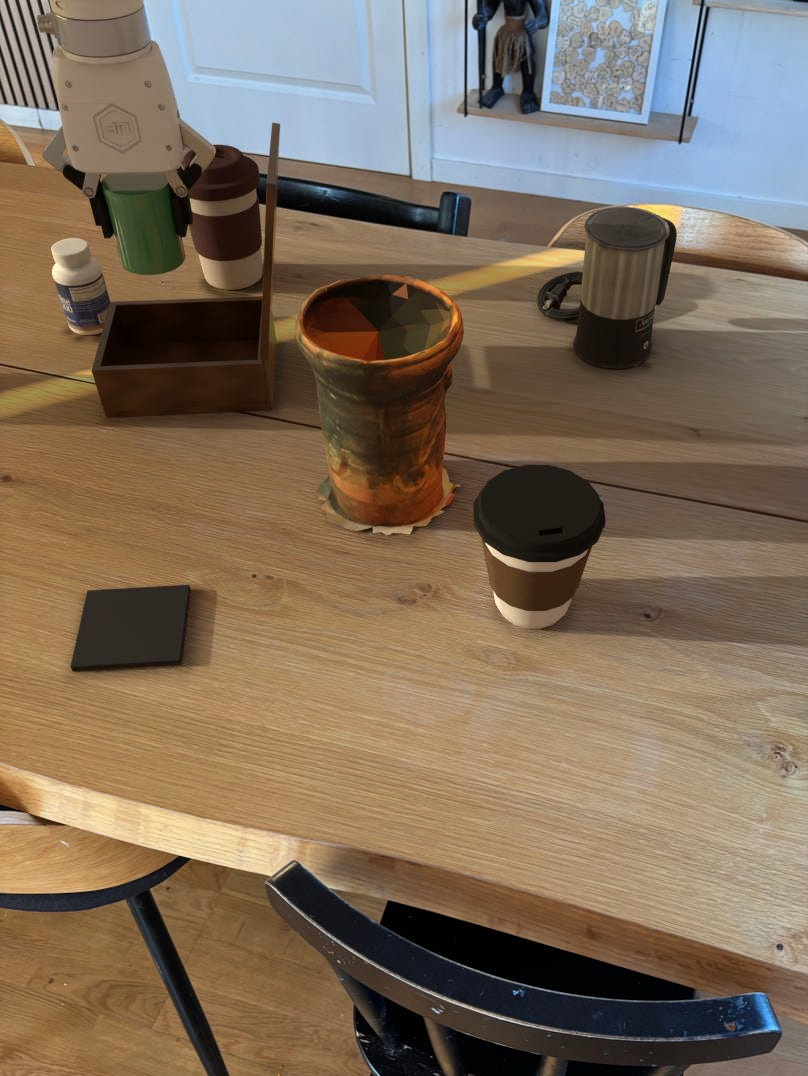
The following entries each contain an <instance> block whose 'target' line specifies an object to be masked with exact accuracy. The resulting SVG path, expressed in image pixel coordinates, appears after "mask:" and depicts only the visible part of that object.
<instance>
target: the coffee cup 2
mask: <svg viewBox="0 0 808 1076" xmlns="http://www.w3.org/2000/svg"><path fill="white" fill-rule="evenodd" d="M472 504H473V505H472V506H473V507H472V510H473V515H472V516H473V517H472V518H473V527H474V529H475V530H476V532H477V534H478V535H479V536H480V538H481V543H482V549H483V555H484V560H485V565H486V566H485V567H486V571H487V575H488V582H489V586H490V588H491V589H492V592H493V597H494V603H495V605H496V607H497V609H498V610H499V612H500V613H501V616H503V618H504V619H505V620H507V621H508V622H510V623H511V624H513V625H514V626H517V627H520V628H524V629H526V630H527V629H528V630H529V629H530V630H531V629H533V630H534V629H535V630H539V629H543V628H546V627H550V626H553V625H554V624H555V623H557V622H558V621H559V620H561V619H562V618H563V617H564V616H565V615H566V614H567V611H568V610H569V607H570V605H571V603H572V599H573V598H574V596H575V594H576V592H577V591H578V588H579V586H580V583H581V580H582V578H583V574H584V572H585V569H586V566H587V563H588V560H589V557H590V554H591V551H592V549H593V546H594V545H596V544H597V543H598V542H599V540H600V538H601V536H602V533H603V531H604V529H605V527H606V523H607V519H606V512H605V504H604V501H603V500H602V499H601V497H600V495H599V493H598V492H597V490H596V489H595V488H594V486H593V485H592V484H591V483H590V481H589V480H588V479H585V478H584V477H582V476H580V475H578V474H577V473H575V472H573V471H572V470H570V469H568V468H567V469H566V468H562V467H559V466H556V465H551V464H523V465H519V466H515V467H512V468H507V469H504V470H502V471H501V472H499V473H498V474H496V475H494V476H493V477H491V478H489V479H488V480H487V481H486V483H485V485H483V487H482V488H481V489H480V491H479V492H478V495H476V498H475V499H474V501H473V503H472Z"/></svg>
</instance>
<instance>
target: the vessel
mask: <svg viewBox="0 0 808 1076" xmlns="http://www.w3.org/2000/svg"><path fill="white" fill-rule="evenodd" d="M462 315H463V314H462V311H461V309H460V307H459V305H458V304H457V303H456V302H455V300H453V298H452V297H450V296H449V295H448V293H446V292H444V290H442V289H440V288H438V287H437V286H434V285H432V284H429V283H428V282H426V281H423V280H421V279H420V278H415V277H414V276H409V275H393V274H384V275H380V276H374V277H360V278H349V279H339V280H337V281H334V282H332V283H329V284H326V285H323V286H320V287H319V288H316V289H315V290H314V291H313V292H312V293H311V294H310V295H309V296H308V297H307V298H306V299H305V301H303V303H301V306H300V308H299V311H298V314H297V315H296V318H295V322H294V335H295V336H294V337H295V339H296V344H297V346H298V349H299V351H300V352H301V354H302V355H303V356H304V358H305V359H306V361H307V362H308V363H307V364H309V366H310V367H311V369H312V372H313V375H314V378H315V384H316V385H315V386H316V395H317V400H318V414H319V420H320V421H319V422H320V428H321V435H322V443H323V448H324V453H325V456H326V461H327V467H328V476H327V477H326V478H325V479H324V480H322V482H321V483H320V484H319V485H318V488H317V489H316V492H317V495H318V496H317V500H318V501H324V503H323V504H322V505H321V506H320V510H322V511H324V512H325V517H326V522H327V523H329V524H332V525H336V526H339V527H341V528H343V529H344V528H345V529H346V530H351V531H356V532H359V531H363V530H368V529H370V528H372V533H373V534H376V533H382V534H384V535H385V536H389V535H392V534H402V535H403V534H405V535H411V533H412V532H413V528H414V527H427V526H428V525H429V524H430V522H431V521H432V519H433V518H434V517H438V516H440V515H442V514H443V513H445V511H444V510H442V509H443V508H445V507H447V506H448V505H450V504H451V503H452V501H453V500H454V497H455V496H456V494H454V493H453V491H454V489H456V488H457V487H461V484H455V483H452V482H450V477H449V473H448V471H447V469H446V468H444V467H443V460H444V458H445V453H446V436H447V435H446V434H447V412H446V403H445V401H446V394H447V391H448V389H449V388H450V387H451V385H452V383H453V380H454V375H453V369H452V368H453V367H452V364H451V362H452V361H453V360H454V359H455V358H456V356H457V355H458V354H459V351H460V350H461V346H462V343H463V340H464V335H465V334H464V333H465V327H464V320H463V316H462Z"/></svg>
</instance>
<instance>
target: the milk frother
mask: <svg viewBox="0 0 808 1076" xmlns="http://www.w3.org/2000/svg"><path fill="white" fill-rule="evenodd" d="M583 226H584V227H583V228H584V231H585V233H586V235H585V245H584V253H583V256H584V258H583V265H582V267H583V268H582V271H571V272H567V273H564V274H560V275H557V276H555V277H553V278H551V279H549V280H548V281H547V282H545V284H543V286H542V287H541V288H540V289H539V291H538V293H537V298H536V305H537V308H538V310H539V312H540V313H541V314H542V315H544V316H545V317H547V318H548V319H551V320H554V321H556V322H561V323H569V322H577V325H576V334H575V335H574V338H573V342H572V343H573V344H572V345H573V350H574V352H575V354H577V356H578V357H579V358H581V359H582V360H584V361H585V362H586V363H588V364H591V365H594V366H596V367H600V368H603V369H604V368H606V369H619V370H620V369H628V368H633V367H636V366H638V365H640V364H642V363H643V362H645V361H647V359H648V358H649V357H650V356H651V354H652V350H653V345H652V335H653V328H654V317H655V311H656V306H660V305H662V303H663V301H664V298H665V296H666V291H667V287H668V283H669V282H668V281H669V277H670V272H671V269H672V268H671V267H672V263H673V258H674V253H675V248H676V244H677V237H678V232H677V228H676V225H675V224H674V222H672V221H671V220H670V219H667V218H665V217H663V216H661V215H660V214H656V213H655V212H652V211H650V210H648V209H647V210H646V209H643V208H637V207H634V206H632V207H630V206H617V207H616V206H615V207H607V208H603V209H600V210H597V211H595V212H593V213H592V214H590V215H588V217H587V218H586V220H584V225H583ZM575 285H578V286H580V285H581V286H580V287H581V289H580V299H579V308H576V309H573V310H560V309H561V305H562V303H563V301H564V300H565V298H566V297H567V296H568V291H569V290H570V289H571V288H572V286H575Z"/></svg>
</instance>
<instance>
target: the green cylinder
mask: <svg viewBox="0 0 808 1076" xmlns="http://www.w3.org/2000/svg"><path fill="white" fill-rule="evenodd" d="M101 182H102V183H101V184H102V189H103V193H104V197H105V201H106V205H107V209H108V214H109V218H110V222H111V226H112V230H113V239H114V242H115V246H116V250H117V255H118V258H119V262H120V265H121V267H122V268H123V269H125V271H127V272H129V273H132V274H135V275H141V276H155V275H156V276H157V275H163V274H166V273H170V272H173V271H174V270H177V269H178V268H180V267H181V266H182V265H183V264H184V262H185V261H186V253H185V247H184V243H183V237H180V236H178V234H177V229H176V224H175V218H174V213H173V208H172V203H171V196H172V193H173V190H172V187H171V186H170V184H169V183H168V181H167V180H166V178H165V177H164V175H163V174H105V176H104V177H103V178H102V180H101Z"/></svg>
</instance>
